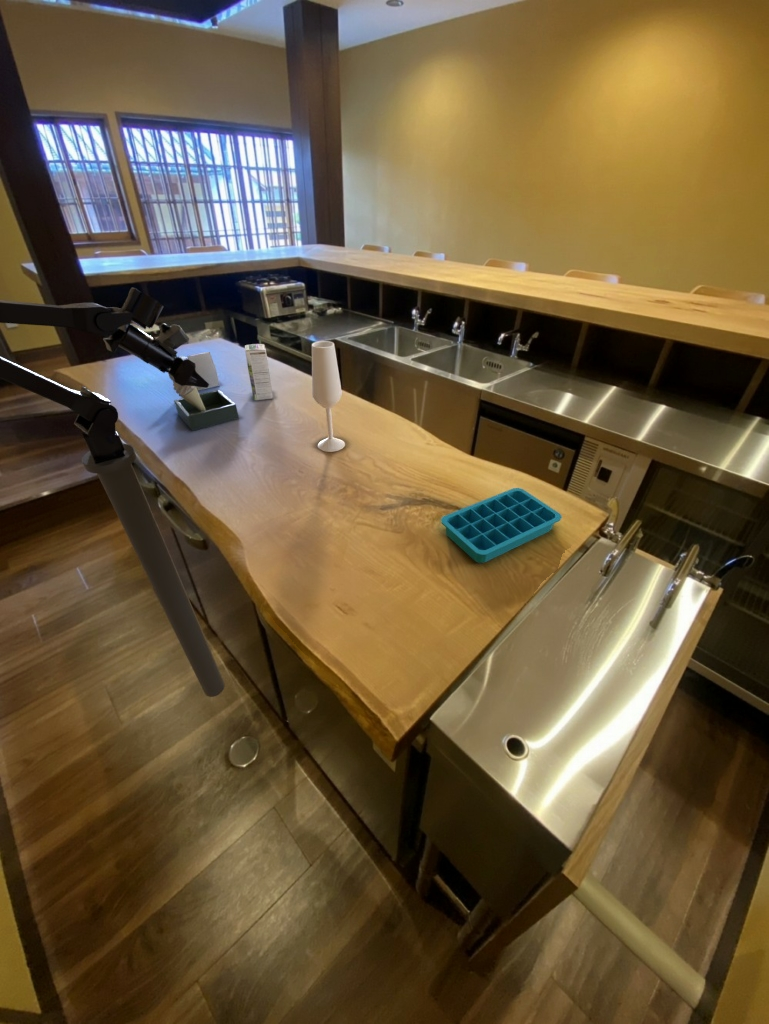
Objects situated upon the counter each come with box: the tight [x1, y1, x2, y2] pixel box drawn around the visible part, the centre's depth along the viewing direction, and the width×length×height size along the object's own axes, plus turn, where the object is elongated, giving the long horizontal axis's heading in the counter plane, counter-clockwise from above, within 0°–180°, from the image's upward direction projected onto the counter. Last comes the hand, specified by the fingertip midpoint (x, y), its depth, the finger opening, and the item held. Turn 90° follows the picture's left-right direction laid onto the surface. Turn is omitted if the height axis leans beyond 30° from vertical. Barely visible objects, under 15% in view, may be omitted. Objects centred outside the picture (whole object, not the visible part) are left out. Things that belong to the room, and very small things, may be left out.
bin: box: [173, 389, 240, 432], centre depth 115 cm, size 13×13×4 cm
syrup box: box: [244, 343, 274, 401], centre depth 123 cm, size 6×6×14 cm
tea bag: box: [186, 351, 221, 391], centre depth 131 cm, size 4×7×10 cm, turn 129°
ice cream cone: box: [169, 368, 206, 412], centre depth 111 cm, size 5×5×15 cm
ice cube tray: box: [440, 487, 563, 564], centre depth 78 cm, size 12×20×3 cm, turn 121°
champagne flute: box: [311, 340, 346, 453], centre depth 97 cm, size 7×7×24 cm
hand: (200, 380), depth 111 cm, fingers open, 9 cm apart
